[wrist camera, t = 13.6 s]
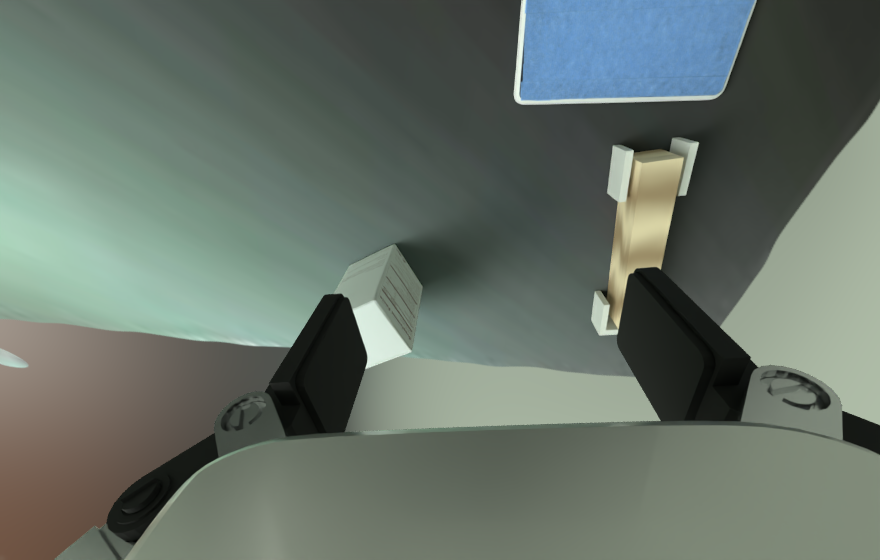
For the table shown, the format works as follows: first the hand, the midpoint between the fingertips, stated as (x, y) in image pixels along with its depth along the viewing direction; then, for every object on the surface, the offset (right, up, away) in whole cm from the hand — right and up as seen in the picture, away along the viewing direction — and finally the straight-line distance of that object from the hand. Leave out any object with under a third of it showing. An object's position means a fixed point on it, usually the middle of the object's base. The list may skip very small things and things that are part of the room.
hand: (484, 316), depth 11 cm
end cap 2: (+20, +13, +24) cm, 34 cm away
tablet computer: (+15, +24, +18) cm, 34 cm away
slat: (+21, +6, +28) cm, 36 cm away
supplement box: (-8, +2, +33) cm, 34 cm away
